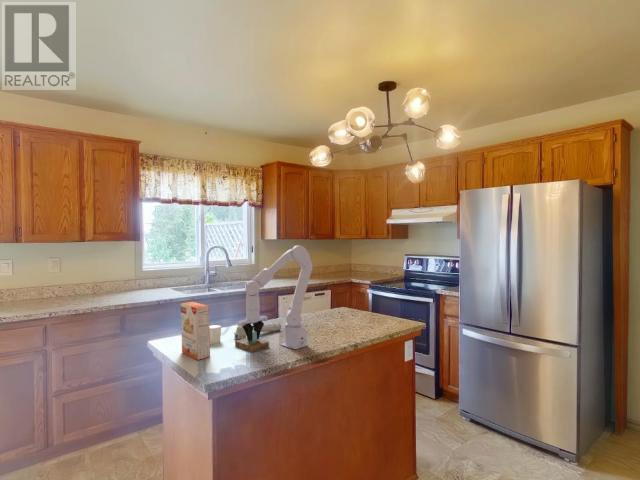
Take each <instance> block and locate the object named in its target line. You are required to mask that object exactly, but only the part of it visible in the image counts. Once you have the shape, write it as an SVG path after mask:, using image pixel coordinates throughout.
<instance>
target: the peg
mask: <svg viewBox="0 0 640 480" xmlns="http://www.w3.org/2000/svg"><path fill="white" fill-rule="evenodd" d="M249 342H250V343H251V344H254V343H257V331H252V341H249Z"/></svg>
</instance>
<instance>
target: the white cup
mask: <svg viewBox="0 0 640 480" xmlns="http://www.w3.org/2000/svg"><path fill="white" fill-rule="evenodd" d="M209 326H210V344H217V343H220V342H221V334H222V325H220V324H209Z"/></svg>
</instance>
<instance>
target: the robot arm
mask: <svg viewBox="0 0 640 480" xmlns="http://www.w3.org/2000/svg"><path fill="white" fill-rule="evenodd" d="M294 259H295V260H296V261H297V263H298V265H299V266H300V271H299V276H298V278H297V282H296V286H295V289H294V293H293V297H292V300H291V303H290V305H289V308H288V309H287V310H286V311H285V318H286V322H285V323H284V335H285V336H284V341H285V342H283V343H281V344H280V345H281V346H283V347H286V348H290V349H292V350H297V349H301V348H305V347H307V346H309V344H308V335H307V334H308V333H307V332H308V331H307V329H306V328H305V327H304V326H303V325H302V322H301V321H302V316H301V314H302V307H303V303H304V299H305V296H306V292H307V288H308V284H309V282H310V278H311V275H312V270H313V268H314V267H313V262H312V260H311V256H310V252H309V251H308V249H306V247H304V246H303V245H299V244H296V245H294V246H292V248H290V249H288V250H287V251H285V252H284V253H283V254H282V255H281V256H280V257H279V258H278V259H277V260H276V261H275V262H273V264H271V266H270V267H268V268H265V267H264V268H263V269H262V268H261V269H260V270H259V273H258V274H256V275H255V276H253V277H251V278H250V281H248V282H247V283H246V285H245V292H246V298H245V311H246V312H245V314H246V315H245V316H246V317H245V318H244V319H241V320H239V321H237V327H238V326H240V327H243V329H244V330H245V333H246V338H247V339H248V341H252V331H253V327H254V331H257V340H258V339H260V335H261V333H262V332H261V329H262V327H263V325H264V324H265V322H266V321H268V316H267V315H261V314H260V311H261V310H260V308H261V307H260V295H259V294H260V289H262V288H264V287H265V286H266V285H267V284H268V283H270V282H271V280H273V279H274V274H275V273H276V272H277V271H278V270H280V269H281V268H282V267H283V266H284V265H286V264H287V263H288V262H293V261H294Z"/></svg>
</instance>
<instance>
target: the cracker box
mask: <svg viewBox="0 0 640 480" xmlns="http://www.w3.org/2000/svg"><path fill="white" fill-rule="evenodd" d="M180 320H181V322H180V323H181V330H180V331H181V352H182V353H183V354H184V355H186V356H188V357H190V358H192V359H194V360H196V361H200V359H201V360H203V359H207V358H210V357H211V343H210V306H209V305H207V304H202V303H199V302H195V301H190V302H189V301H186V302H182V303H180Z"/></svg>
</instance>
